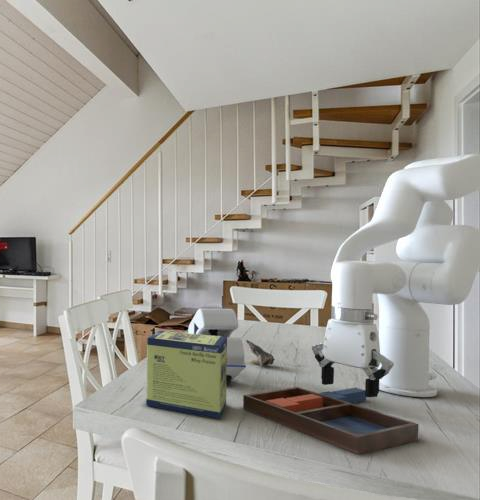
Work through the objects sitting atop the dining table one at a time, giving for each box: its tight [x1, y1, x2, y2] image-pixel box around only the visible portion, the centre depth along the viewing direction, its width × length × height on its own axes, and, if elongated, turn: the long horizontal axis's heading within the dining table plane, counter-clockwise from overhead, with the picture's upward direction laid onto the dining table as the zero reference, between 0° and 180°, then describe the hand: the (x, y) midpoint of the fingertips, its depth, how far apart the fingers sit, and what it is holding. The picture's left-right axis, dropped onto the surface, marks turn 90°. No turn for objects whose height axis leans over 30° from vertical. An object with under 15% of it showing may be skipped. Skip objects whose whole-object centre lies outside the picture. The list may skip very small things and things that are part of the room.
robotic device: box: [187, 307, 247, 386], centre depth 129 cm, size 10×21×20 cm
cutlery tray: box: [242, 386, 419, 456], centre depth 97 cm, size 17×24×3 cm
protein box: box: [145, 330, 227, 420], centre depth 107 cm, size 10×16×16 cm
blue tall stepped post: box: [318, 387, 367, 404], centre depth 109 cm, size 13×4×2 cm, turn 111°
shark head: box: [245, 339, 275, 368], centre depth 142 cm, size 8×6×7 cm
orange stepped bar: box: [266, 394, 323, 412], centre depth 102 cm, size 13×4×2 cm, turn 111°
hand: (348, 390), depth 110 cm, fingers open, 9 cm apart
